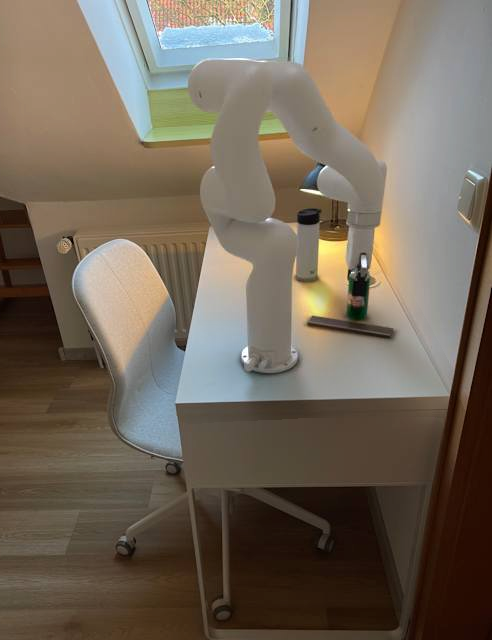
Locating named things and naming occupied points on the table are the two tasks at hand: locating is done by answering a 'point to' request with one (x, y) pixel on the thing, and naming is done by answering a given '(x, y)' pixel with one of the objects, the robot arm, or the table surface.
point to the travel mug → (307, 244)
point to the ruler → (350, 327)
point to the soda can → (357, 300)
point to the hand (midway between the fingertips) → (356, 287)
